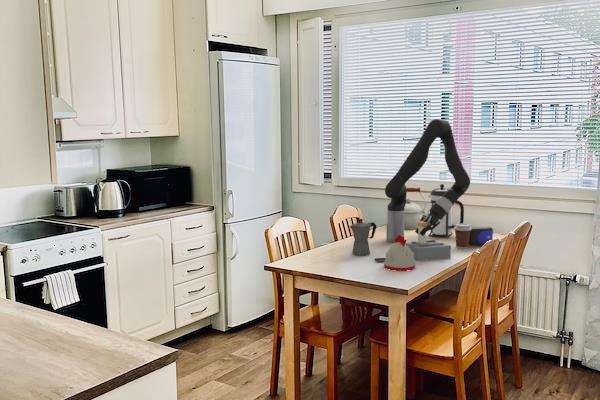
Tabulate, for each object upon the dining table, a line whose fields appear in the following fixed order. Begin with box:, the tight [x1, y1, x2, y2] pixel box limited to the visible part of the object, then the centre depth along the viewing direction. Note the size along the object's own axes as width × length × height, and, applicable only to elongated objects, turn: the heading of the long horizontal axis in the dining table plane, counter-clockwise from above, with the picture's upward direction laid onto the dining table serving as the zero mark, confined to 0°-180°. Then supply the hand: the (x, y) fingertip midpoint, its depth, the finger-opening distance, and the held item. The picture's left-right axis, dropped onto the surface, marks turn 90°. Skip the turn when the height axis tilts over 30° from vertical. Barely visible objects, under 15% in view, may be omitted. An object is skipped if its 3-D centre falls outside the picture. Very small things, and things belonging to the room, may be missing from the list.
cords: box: [374, 257, 386, 263], centre depth 275 cm, size 17×4×1 cm, turn 99°
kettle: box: [404, 187, 430, 230], centre depth 356 cm, size 25×18×25 cm
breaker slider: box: [414, 221, 428, 245], centre depth 281 cm, size 4×6×11 cm
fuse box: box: [405, 239, 452, 262], centre depth 283 cm, size 18×14×7 cm
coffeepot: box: [349, 218, 377, 257], centre depth 288 cm, size 15×9×18 cm, turn 115°
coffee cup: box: [453, 223, 473, 250], centre depth 301 cm, size 9×9×12 cm
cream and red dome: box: [383, 235, 416, 272], centre depth 262 cm, size 14×14×15 cm
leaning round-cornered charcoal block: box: [469, 226, 494, 247], centre depth 305 cm, size 16×5×9 cm, turn 96°
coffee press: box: [428, 184, 465, 239], centre depth 329 cm, size 17×16×30 cm
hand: (418, 233), depth 281 cm, fingers closed on breaker slider, 4 cm apart
